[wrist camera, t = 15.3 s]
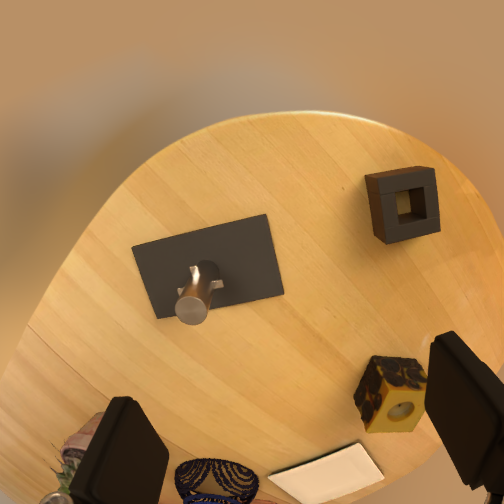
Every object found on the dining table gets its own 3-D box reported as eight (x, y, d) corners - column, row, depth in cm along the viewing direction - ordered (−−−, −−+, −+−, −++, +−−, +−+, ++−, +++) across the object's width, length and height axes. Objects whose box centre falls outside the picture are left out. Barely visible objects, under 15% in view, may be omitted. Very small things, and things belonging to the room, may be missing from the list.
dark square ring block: (364, 175, 42) (377, 178, 37) (417, 165, 41) (434, 168, 36) (373, 235, 44) (386, 244, 40) (424, 223, 44) (440, 231, 39)
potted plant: (108, 382, 54) (56, 480, 30) (168, 444, 59) (144, 538, 35) (59, 400, 56) (10, 478, 33) (114, 454, 61) (84, 533, 38)
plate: (383, 473, 63) (385, 479, 61) (307, 502, 67) (307, 507, 65) (357, 436, 57) (359, 443, 55) (266, 471, 61) (266, 477, 59)
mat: (132, 246, 45) (131, 247, 45) (265, 213, 44) (265, 214, 43) (158, 317, 49) (157, 319, 48) (283, 292, 47) (284, 294, 47)
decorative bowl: (160, 474, 63) (148, 519, 49) (209, 448, 58) (202, 502, 45) (221, 503, 67) (217, 544, 53) (274, 480, 62) (276, 528, 49)
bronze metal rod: (180, 256, 45) (156, 291, 34) (221, 247, 45) (209, 280, 33) (193, 294, 47) (174, 338, 35) (232, 286, 46) (224, 329, 35)
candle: (396, 398, 54) (412, 432, 44) (351, 397, 53) (363, 435, 44) (417, 357, 51) (439, 390, 41) (371, 354, 50) (389, 391, 41)
